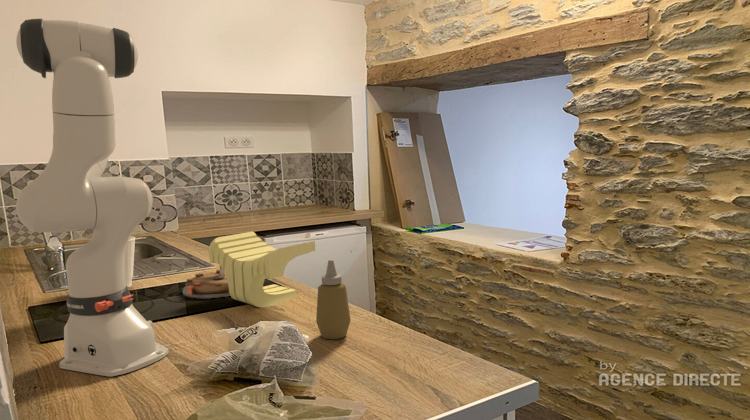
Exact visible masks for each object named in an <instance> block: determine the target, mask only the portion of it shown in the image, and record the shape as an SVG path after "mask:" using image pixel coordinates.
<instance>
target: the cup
mask: <svg viewBox="0 0 750 420" xmlns="http://www.w3.org/2000/svg"><path fill="white" fill-rule="evenodd" d="M135 244H136V237H135V236H132V235H131V236H130V238H129V240H128V242H127V245H126V249H125V256H124V268H125V284H126V286H127V287H128V288H130V287H132V283H133V282H132V279H133V278H134V263H135Z"/></svg>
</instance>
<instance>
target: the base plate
mask: <svg viewBox="0 0 750 420" xmlns="http://www.w3.org/2000/svg"><path fill="white" fill-rule="evenodd" d="M182 295H183V296H184V297H186V298H189V299H194V298H196V300H212V299H211V298H217V299H222V298H221V297H225V298H229V297H228V296H230V293H229V292H224V293H215V294H198V293H194V286H187V285H185V286H184V287H183V288H182Z"/></svg>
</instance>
